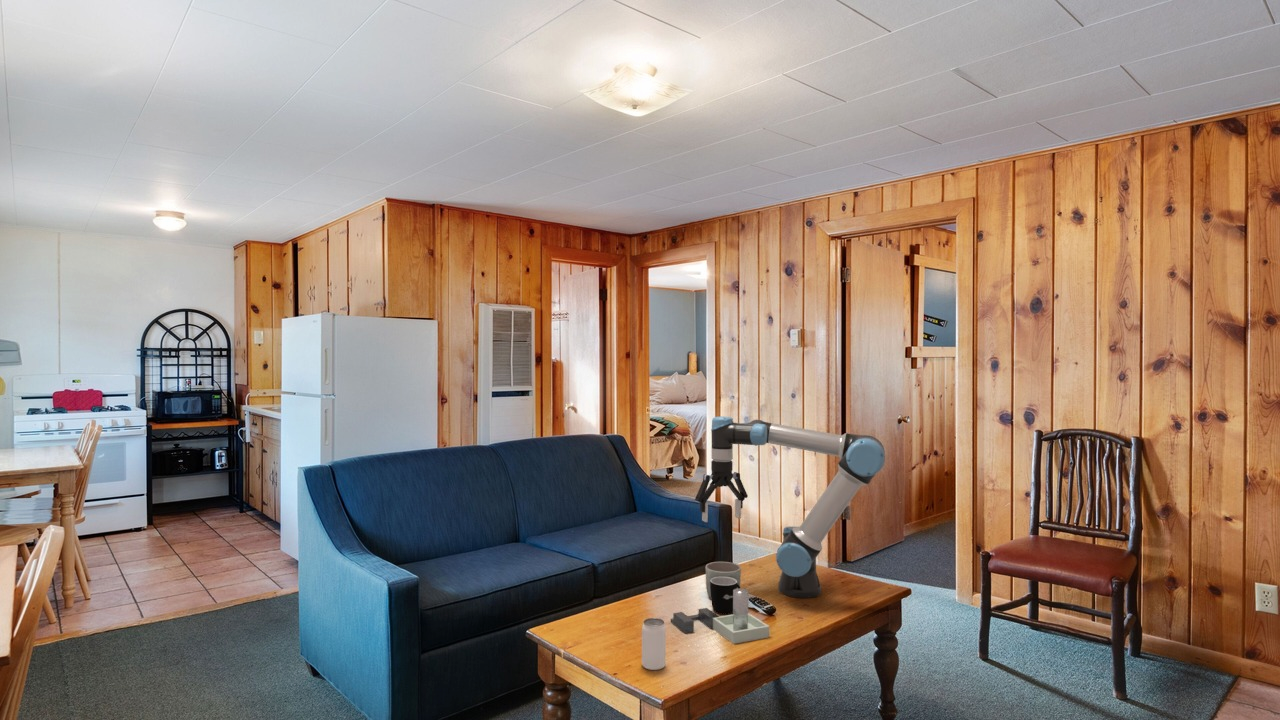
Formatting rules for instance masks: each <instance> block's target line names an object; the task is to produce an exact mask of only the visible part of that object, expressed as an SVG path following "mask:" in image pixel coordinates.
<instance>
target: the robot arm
mask: <svg viewBox="0 0 1280 720" xmlns="http://www.w3.org/2000/svg"><path fill="white" fill-rule="evenodd" d="M711 419H712V420H711V429H710V431H711V432H710V433H711V459H712V460H711V462H710V463H711V464H710V465H711V467H710V469H711V474H707V473H705V474H703V476H702V477H703V478H702V481H701V482H702V483H701V485H700V486H699V489H698V491H697V494H696V496H695V498H694V501H696V502H698V503H699V510H700V513H701V521H703V522H704V523H708V520H709V519H708V518H709V515H708V513H709V509H708V507H709V503H707V501H708V500H709V498H710V497H711V496H712V494H713V492H714V491H715V490H717V488H718V487H719V488H721V487H728V488H729V490H730V491H731V492H732V494H733V495H734V496H735V497H736V499H734V507H735V508H734V517H735V518H736V519H739V520H740V519H741V518H742V509H743V508H744V507H743V505H744V504H743V502H744V501H745V499H747V498H748V493H747V491H746V489H745V486H744V483H743V482H742V479H741V473H739V472H737V471H733V461H732V460H733V447H734V446H733V445H744V446H745V445H747V446H748V445H749V446H754V447H755V446H765V445H766V444H771V445H776V446H782V447H786V448H787V447H788V448H793V449H798V450H802V451H809V452H814V453H817V454H818V453H819V454H824V455H829V456H835V457H838V458H839V459H840V460H839V462H838V463H837V468H838V471H837V472H836V475H834V477H833V479H832V480H831V481H830V483H829V484H828V485H827V487H826V488H825V489H824V491H823V493H822V494H821V496H820V497H819V499H818V500H817V501H816V502H815V504H814V506H813V507H812V508H811V510H810V511H809V512H808V514H807V516H806V517H805V519H804V520H803V522H802V523H801V524H800V525H799V526H786V527H784V528H783V532H782V535H783V539H782V540H783V541H782V542H781V544H780V546H779V547H778V548H777V551H776V553H775V554H776V557H775V559H776V564H777V566H778V568H779V569H780V570H781V574H780V577H779V581H778V583H777V588H778V589H777V590H778V592H779V593H781V594H782V595H784V596H788V597H793V598H799V599H810V598H815V597H818V596H820V595H821V594H822V586H821V583H820V580H819V577H818V573H817V557H818V556H819V554H820V553H821V551H822V549H823V547H822V542H823V540H824V539H825V538H826V536H827V535H828V534H829V532H830V530H832V528H833V526H835V523H836V522H837V521H838V519H839V518H840V517H841V515H842V514H843V513H844V511H845V509H846V508H847V506H848V505H849V504H850V503H851V501H852V500H853V498H854V497H855V495H856V494H857V492H858V491H859V490H860V488H861V487H863V486H867V485H869V484H870V483H871V481H872V480H873V478H874V477H875V476H876V474H878V473H879V472H880V471H881V470H882V469H883V467H884V465H885V462H886V455H885V454H886V453H885V448H884V445H883V443H882V442H881V441H880V440H879V439H877V438H876V437H875V436H873V435H867V434H853V433H848V432H846V433H844V434H837V433H836V434H835V433H830V432H825V431H819V430H818V431H817V430H814V429H808V428H807V429H806V428H803V427H795V426H789V425H785V424H778V423H773V422H767V421H764V420H763V419H762V420H761V419H753V420H751V421H750V422H747V423H745V422H744V423H742V422H739V423H738V422H734V420H733V418H732V417H731V416H714V417H713V418H711ZM733 479H734V482H735V484H734V483H733V481H732V480H733ZM710 481H711V482H710ZM735 485H736V486H735ZM736 487H737V488H736Z"/></svg>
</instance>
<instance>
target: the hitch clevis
mask: <svg viewBox="0 0 1280 720" xmlns="http://www.w3.org/2000/svg"><path fill="white" fill-rule="evenodd" d="M697 611H698V613H697V614H693V615H687V614H685V613H684V612H683V611H680V612H679V611H678V612H673V616H672V617H673V618H670V623H671V624H672V625H674V626H675V627H676V628H677V629H679V630H680V631H681V632H682V633H684V634H689V633H694V631H695V630H694V629H695V627H694V626H695V624H694V623H695V622H696V621H699V622H700V623H702V624H703V625H705V626H706V628H707V627H708V629H710V630H714V629H713V618H717V617H720V615H719V614H717V613H716V612H714V611H712V610H710V609H709V608H707V607H705V608H704V607H703V608H698V610H697Z"/></svg>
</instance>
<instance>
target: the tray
mask: <svg viewBox="0 0 1280 720" xmlns="http://www.w3.org/2000/svg"><path fill="white" fill-rule="evenodd" d="M712 630H714V631H715V632H716V633H718V634H719V635H721V636H722V637H723V638H725V639H726V640H727V641H729V642H731V643H732V644H733V645H734V644H741V643H746V642H750V641H756V640H762V639H767V638H770V625H768V624H767V623H764V621H762V620H760V619H758V618H757V617H756V616H754V615H752V614H751V613H749V612H748V629H745V630H739V631H733V613H731V614H725V615H721V616H720V615H719V617H717V618H713V629H712Z"/></svg>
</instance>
